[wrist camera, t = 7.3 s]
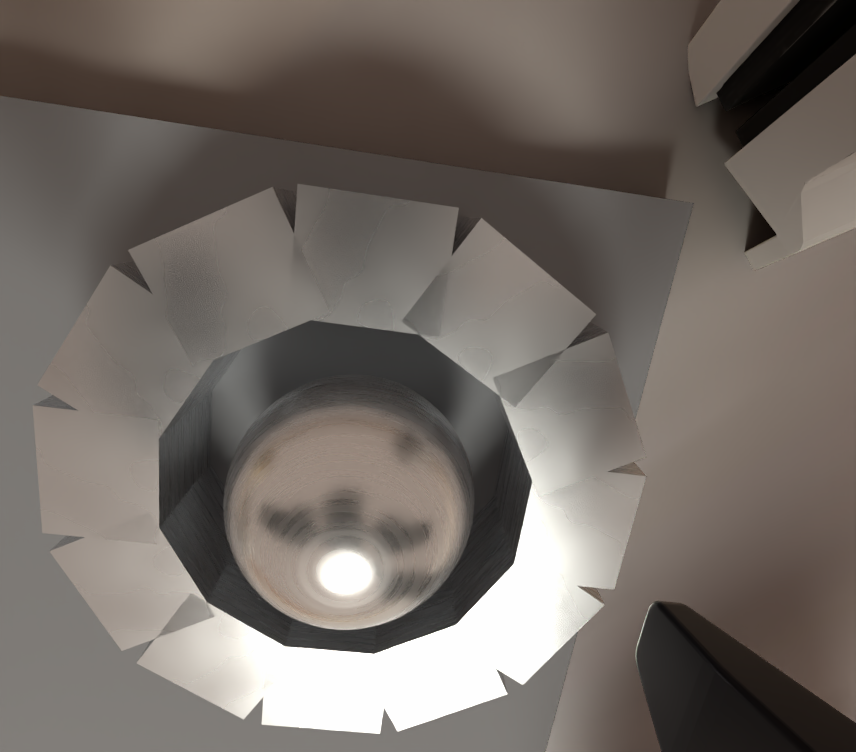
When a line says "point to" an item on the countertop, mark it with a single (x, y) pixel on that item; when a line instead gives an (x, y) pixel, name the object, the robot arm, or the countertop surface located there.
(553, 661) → the mat
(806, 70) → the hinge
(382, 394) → the steel ball
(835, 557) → the countertop surface
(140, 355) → the crimped metal cup
